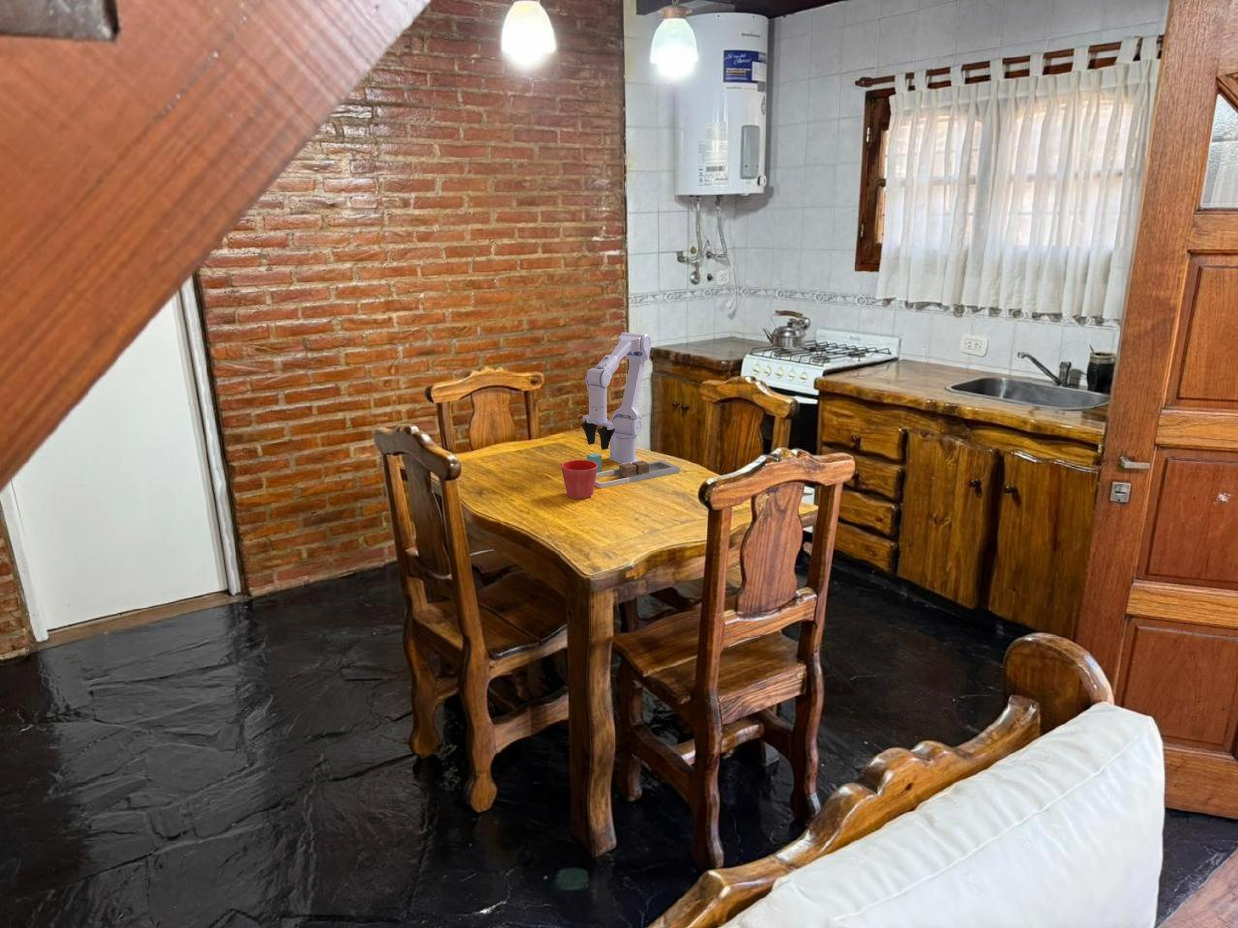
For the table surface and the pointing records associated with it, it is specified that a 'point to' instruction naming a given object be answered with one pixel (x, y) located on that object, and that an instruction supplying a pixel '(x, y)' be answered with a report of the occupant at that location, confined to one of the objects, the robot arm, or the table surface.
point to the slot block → (653, 471)
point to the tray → (610, 483)
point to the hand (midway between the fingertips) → (597, 446)
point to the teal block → (596, 460)
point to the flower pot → (579, 478)
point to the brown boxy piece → (626, 470)
